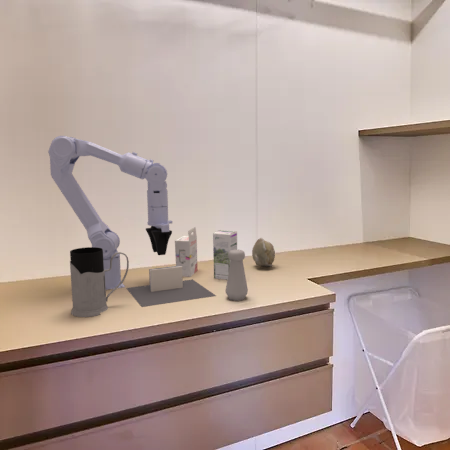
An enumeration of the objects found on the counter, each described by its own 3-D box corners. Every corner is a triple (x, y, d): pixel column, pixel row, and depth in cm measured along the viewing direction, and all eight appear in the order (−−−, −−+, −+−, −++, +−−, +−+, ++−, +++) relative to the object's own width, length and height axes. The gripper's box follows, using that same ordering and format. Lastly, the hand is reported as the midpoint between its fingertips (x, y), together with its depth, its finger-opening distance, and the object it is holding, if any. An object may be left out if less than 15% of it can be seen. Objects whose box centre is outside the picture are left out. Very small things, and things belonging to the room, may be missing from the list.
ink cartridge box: (183, 270, 146) (182, 226, 144) (197, 271, 145) (197, 226, 143) (175, 277, 138) (173, 230, 136) (190, 278, 137) (189, 230, 135)
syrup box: (238, 276, 138) (237, 230, 136) (230, 281, 133) (229, 233, 130) (221, 275, 140) (220, 229, 138) (213, 279, 135) (212, 232, 133)
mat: (141, 308, 110) (141, 306, 110) (126, 289, 126) (126, 288, 126) (216, 297, 118) (216, 295, 118) (192, 280, 134) (192, 279, 134)
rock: (262, 272, 143) (262, 241, 142) (244, 267, 150) (244, 238, 148) (282, 267, 150) (282, 237, 148) (263, 262, 156) (263, 234, 154)
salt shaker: (240, 304, 112) (240, 253, 110) (221, 300, 115) (220, 251, 113) (251, 298, 117) (251, 249, 115) (233, 294, 120) (232, 247, 118)
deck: (151, 291, 122) (150, 270, 121) (149, 290, 123) (149, 269, 123) (182, 287, 126) (182, 266, 125) (180, 286, 127) (180, 265, 126)
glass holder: (69, 308, 111) (65, 248, 109) (126, 300, 116) (124, 243, 114) (72, 319, 103) (68, 255, 101) (134, 310, 109) (131, 249, 106)
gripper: (179, 207, 122) (180, 256, 124) (164, 203, 135) (165, 247, 137) (154, 209, 119) (155, 259, 121) (140, 204, 132) (142, 249, 134)
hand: (159, 253), depth 129 cm, fingers open, 4 cm apart
